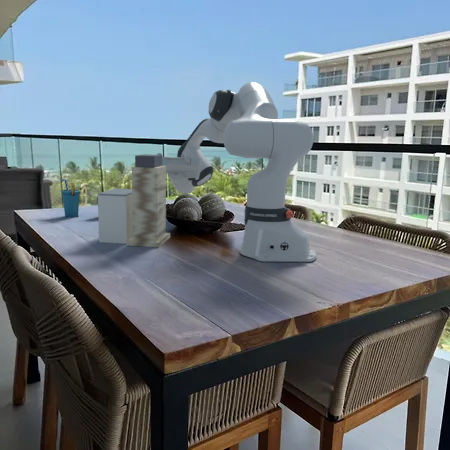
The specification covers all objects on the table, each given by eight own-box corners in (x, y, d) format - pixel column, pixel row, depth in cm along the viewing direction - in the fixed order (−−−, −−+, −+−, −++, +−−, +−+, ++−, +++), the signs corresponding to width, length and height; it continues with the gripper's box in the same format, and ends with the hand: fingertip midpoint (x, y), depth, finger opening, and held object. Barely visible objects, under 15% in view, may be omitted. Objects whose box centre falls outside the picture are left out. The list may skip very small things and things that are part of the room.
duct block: (140, 234, 156) (139, 189, 153) (126, 243, 142) (125, 194, 139) (115, 233, 157) (114, 188, 154) (99, 242, 143) (97, 193, 140)
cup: (53, 214, 188) (52, 178, 185) (71, 212, 193) (70, 177, 190) (69, 219, 178) (68, 181, 175) (87, 217, 183) (86, 180, 180)
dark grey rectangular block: (169, 164, 154) (169, 153, 153) (154, 167, 137) (154, 156, 136) (151, 163, 154) (151, 153, 154) (135, 167, 137) (135, 155, 137)
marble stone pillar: (170, 237, 152) (170, 165, 148) (158, 247, 139) (158, 168, 134) (141, 235, 154) (140, 164, 149) (127, 245, 140) (126, 167, 135)
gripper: (154, 163, 183) (145, 146, 170) (204, 165, 180) (198, 148, 167) (152, 177, 181) (142, 161, 168) (202, 179, 178) (196, 164, 165)
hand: (171, 155), depth 168 cm, fingers open, 8 cm apart
